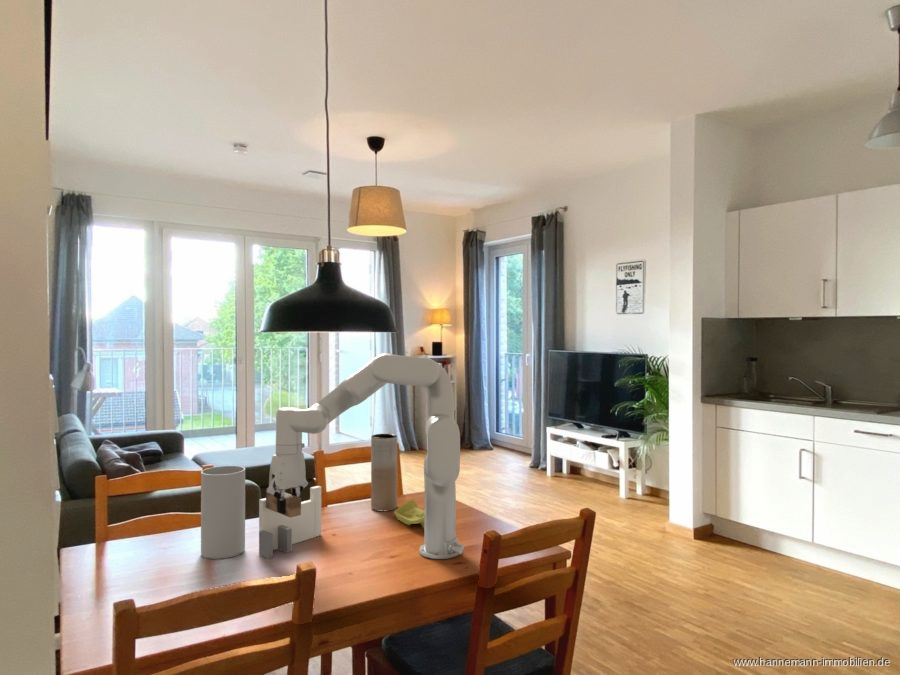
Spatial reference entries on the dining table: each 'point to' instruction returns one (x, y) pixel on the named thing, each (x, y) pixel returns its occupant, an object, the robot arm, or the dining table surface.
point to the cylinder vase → (222, 512)
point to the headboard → (289, 525)
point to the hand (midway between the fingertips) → (287, 510)
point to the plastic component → (410, 513)
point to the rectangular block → (291, 504)
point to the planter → (384, 471)
